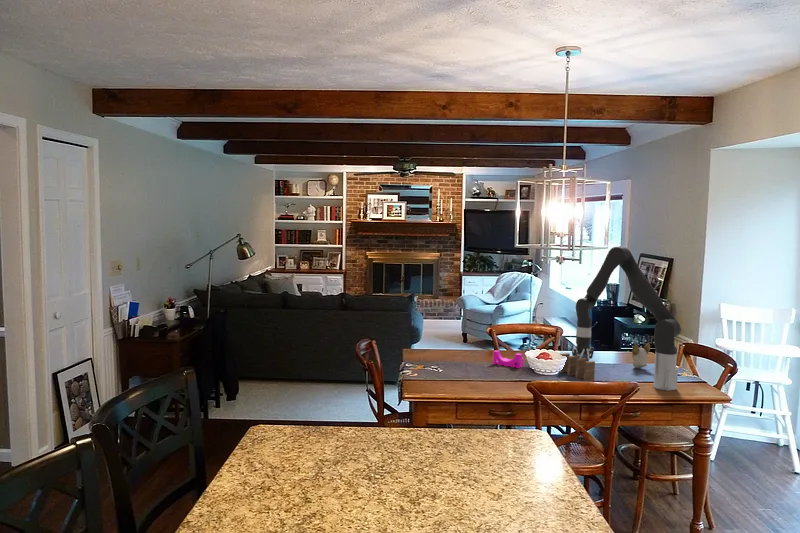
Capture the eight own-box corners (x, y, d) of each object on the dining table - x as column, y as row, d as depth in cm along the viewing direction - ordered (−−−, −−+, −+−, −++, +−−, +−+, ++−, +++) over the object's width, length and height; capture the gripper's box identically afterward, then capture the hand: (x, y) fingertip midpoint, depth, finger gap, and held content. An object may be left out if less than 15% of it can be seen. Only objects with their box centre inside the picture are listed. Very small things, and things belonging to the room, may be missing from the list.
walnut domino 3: (585, 378, 285) (586, 358, 285) (577, 379, 283) (578, 359, 283) (583, 377, 287) (584, 358, 286) (575, 378, 285) (576, 358, 284)
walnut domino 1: (569, 372, 296) (569, 353, 296) (561, 373, 294) (562, 354, 293) (567, 371, 298) (567, 352, 297) (559, 372, 296) (560, 353, 295)
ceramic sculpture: (641, 366, 313) (642, 339, 311) (652, 370, 304) (653, 342, 303) (624, 367, 310) (626, 340, 309) (634, 371, 302) (636, 343, 300)
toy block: (523, 366, 308) (523, 352, 307) (519, 368, 303) (520, 355, 302) (497, 362, 315) (497, 349, 315) (493, 364, 310) (493, 351, 310)
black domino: (586, 370, 301) (587, 351, 301) (579, 371, 299) (580, 352, 298) (584, 369, 303) (585, 351, 302) (577, 370, 301) (578, 352, 300)
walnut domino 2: (577, 375, 291) (577, 356, 290) (569, 376, 289) (570, 356, 288) (574, 374, 292) (575, 355, 292) (567, 375, 290) (568, 356, 289)
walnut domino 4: (594, 381, 280) (595, 361, 279) (586, 382, 278) (587, 362, 277) (591, 380, 281) (592, 360, 281) (584, 381, 279) (584, 361, 279)
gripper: (578, 337, 293) (576, 369, 294) (599, 335, 299) (597, 367, 300) (568, 334, 300) (566, 366, 301) (588, 333, 306) (587, 364, 307)
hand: (582, 366), depth 301 cm, fingers closed on black domino, 5 cm apart
